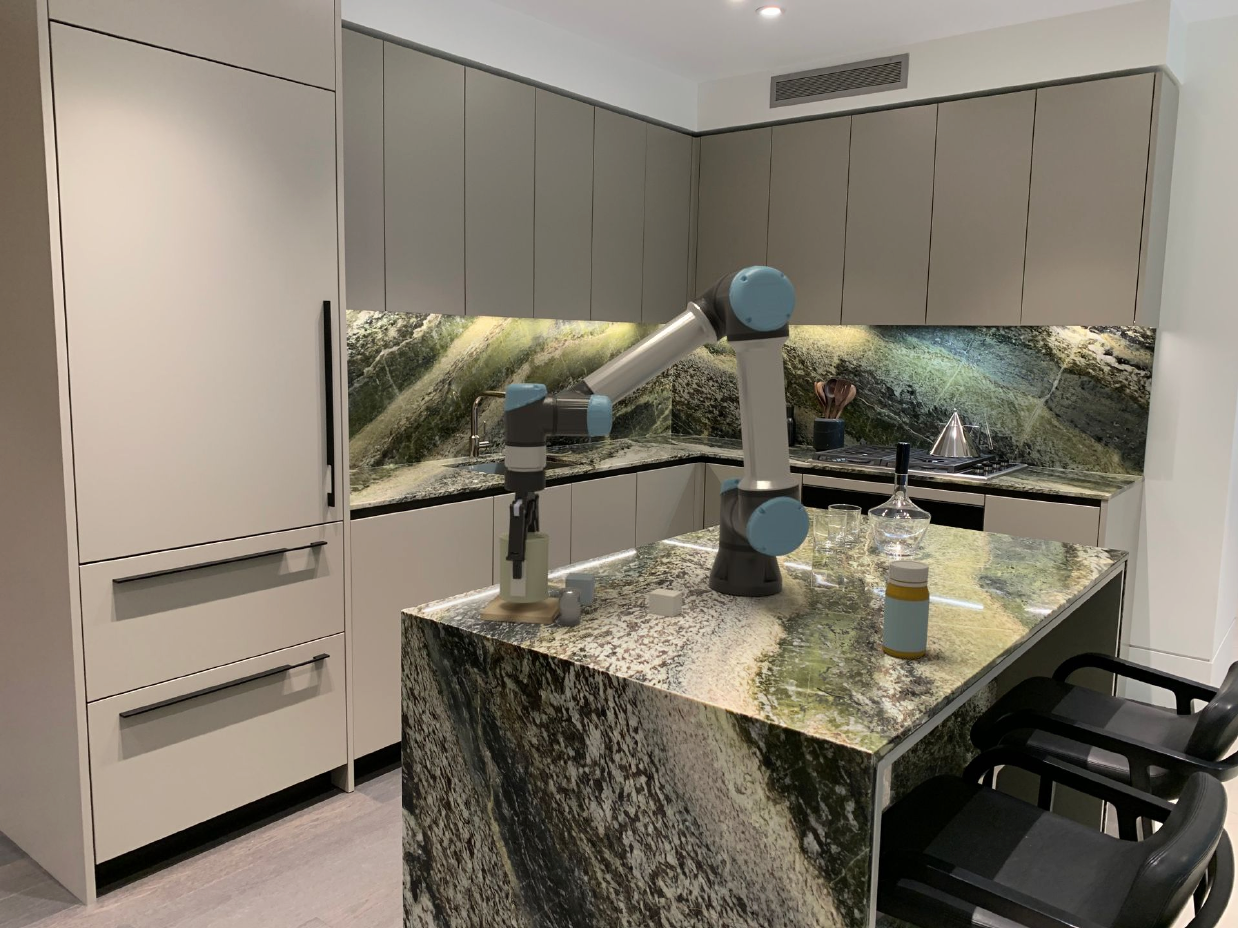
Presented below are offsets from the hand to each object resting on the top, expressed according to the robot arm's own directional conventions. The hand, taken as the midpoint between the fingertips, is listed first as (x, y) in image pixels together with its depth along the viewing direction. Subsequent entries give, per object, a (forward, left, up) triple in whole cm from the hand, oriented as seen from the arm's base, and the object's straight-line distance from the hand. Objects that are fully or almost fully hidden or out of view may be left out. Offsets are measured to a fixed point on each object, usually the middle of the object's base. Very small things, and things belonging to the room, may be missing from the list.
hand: (524, 588), depth 178 cm
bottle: (-67, +11, -5) cm, 68 cm away
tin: (-9, +5, -4) cm, 12 cm away
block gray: (-9, -9, -5) cm, 14 cm away
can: (0, 0, -2) cm, 2 cm away
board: (0, 0, -4) cm, 4 cm away
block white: (-26, -5, -5) cm, 27 cm away
